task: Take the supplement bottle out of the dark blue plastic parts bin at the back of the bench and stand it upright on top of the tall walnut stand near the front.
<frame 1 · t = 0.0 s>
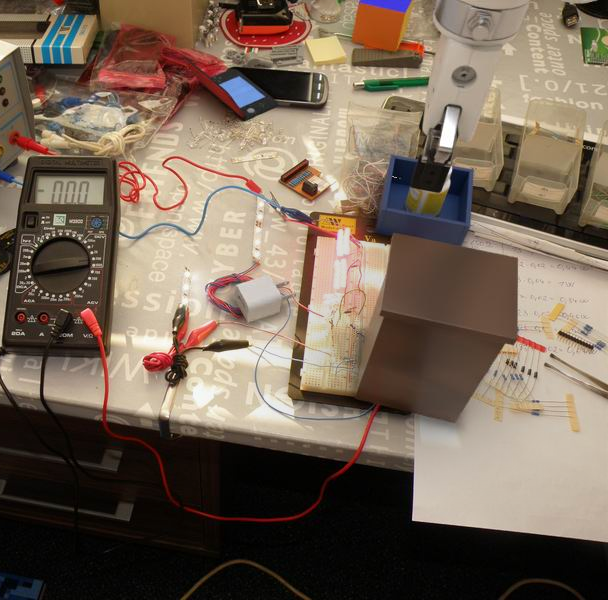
hand: (429, 158, 72), 19 cm above the table, tool pointing down, fingers open, 9 cm apart
supplement bottle: (420, 213, 92), point 1 cm above the table, touching parts bin
usb wall charger: (265, 307, 84), on the table
parts bin: (418, 217, 93), on the table
cube: (378, 40, 120), on the table
handheld console: (229, 103, 109), on the table
walnut stand: (451, 282, 63), on the table
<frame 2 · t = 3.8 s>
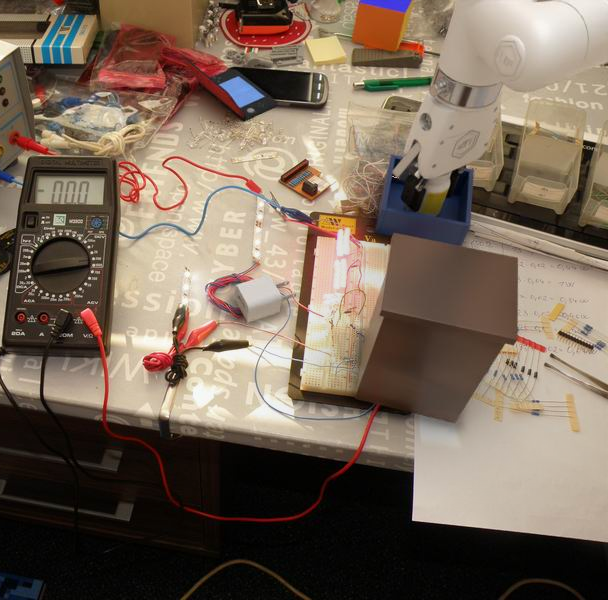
hand: (426, 197, 90), 4 cm above the table, tool pointing down, fingers closed on supplement bottle, 4 cm apart
supplement bottle: (420, 214, 92), point 1 cm above the table, touching gripper, parts bin
everything else where it was.
when the fingers open (21 cm above the table, at t = 11.3 s): supplement bottle stays where it is, resting on walnut stand.
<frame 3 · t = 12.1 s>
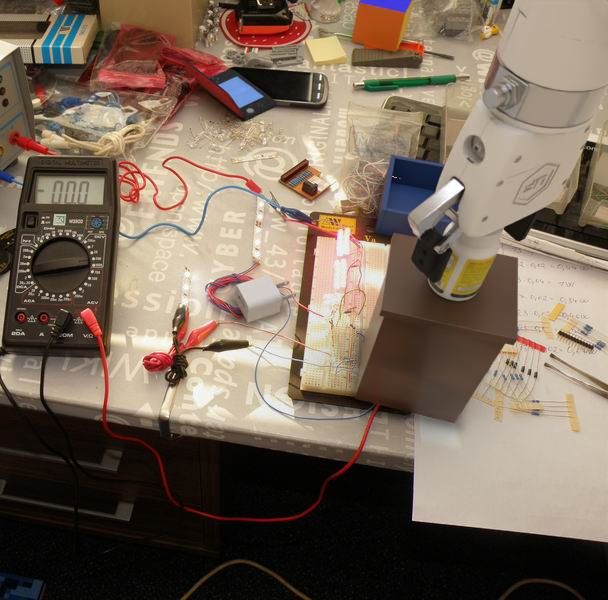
hand: (467, 250, 59), 23 cm above the table, tool pointing down, fingers open, 9 cm apart
supplement bottle: (451, 283, 63), point 18 cm above the table, touching walnut stand
everything else where it was.
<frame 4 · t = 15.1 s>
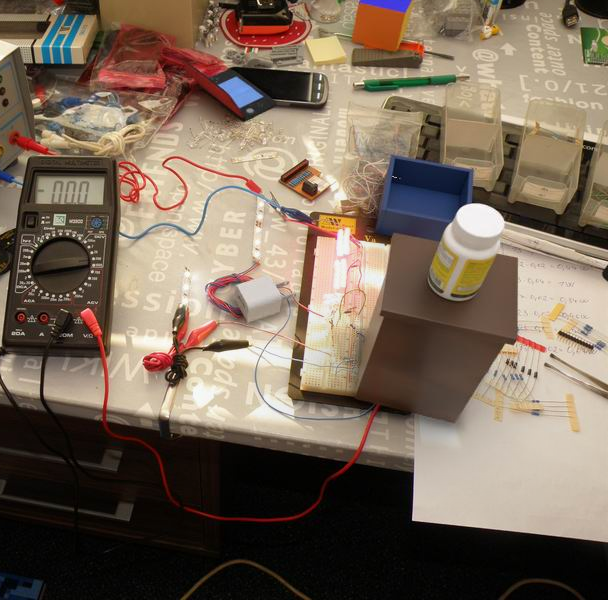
nothing on the table moved.
at the end: supplement bottle inside the target area on the walnut stand (0.0 cm from its centre), point 0.0 cm above the walnut stand's base; supplement bottle tilted 0° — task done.
